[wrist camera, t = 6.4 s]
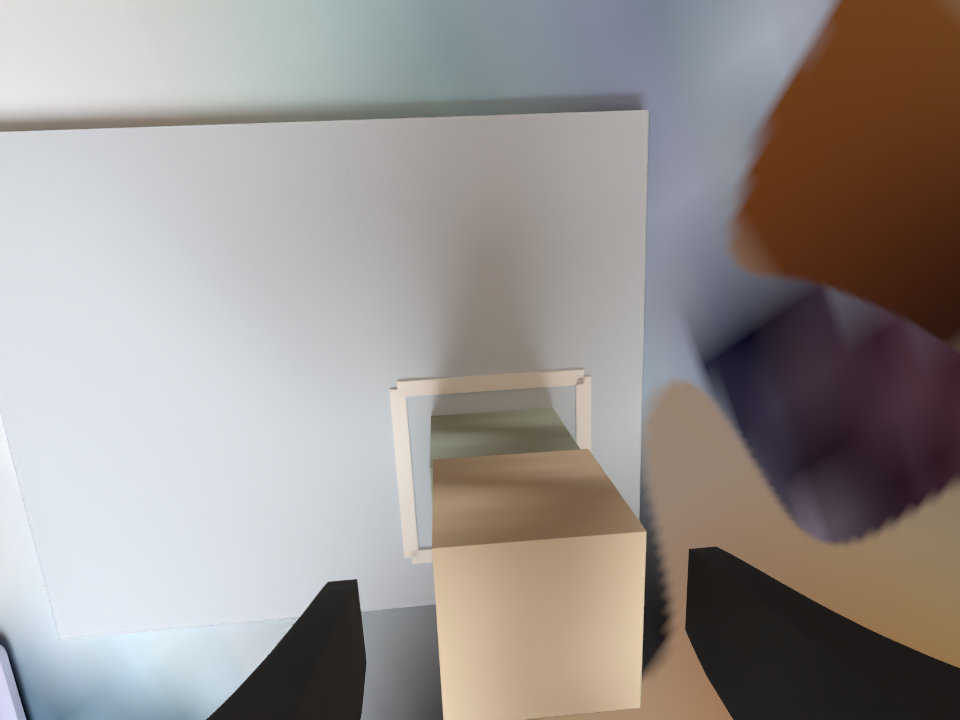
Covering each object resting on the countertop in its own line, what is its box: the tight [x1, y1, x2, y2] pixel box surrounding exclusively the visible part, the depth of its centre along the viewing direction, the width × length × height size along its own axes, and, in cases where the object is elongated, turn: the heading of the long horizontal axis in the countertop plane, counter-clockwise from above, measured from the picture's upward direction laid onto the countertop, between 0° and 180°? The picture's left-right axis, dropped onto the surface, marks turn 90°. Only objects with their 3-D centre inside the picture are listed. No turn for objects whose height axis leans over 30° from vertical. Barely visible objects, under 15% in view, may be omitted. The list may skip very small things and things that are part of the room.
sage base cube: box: [430, 408, 580, 500], centre depth 16 cm, size 4×4×4 cm
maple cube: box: [432, 449, 647, 720], centre depth 13 cm, size 4×4×4 cm
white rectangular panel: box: [0, 110, 649, 640], centre depth 18 cm, size 20×16×1 cm
